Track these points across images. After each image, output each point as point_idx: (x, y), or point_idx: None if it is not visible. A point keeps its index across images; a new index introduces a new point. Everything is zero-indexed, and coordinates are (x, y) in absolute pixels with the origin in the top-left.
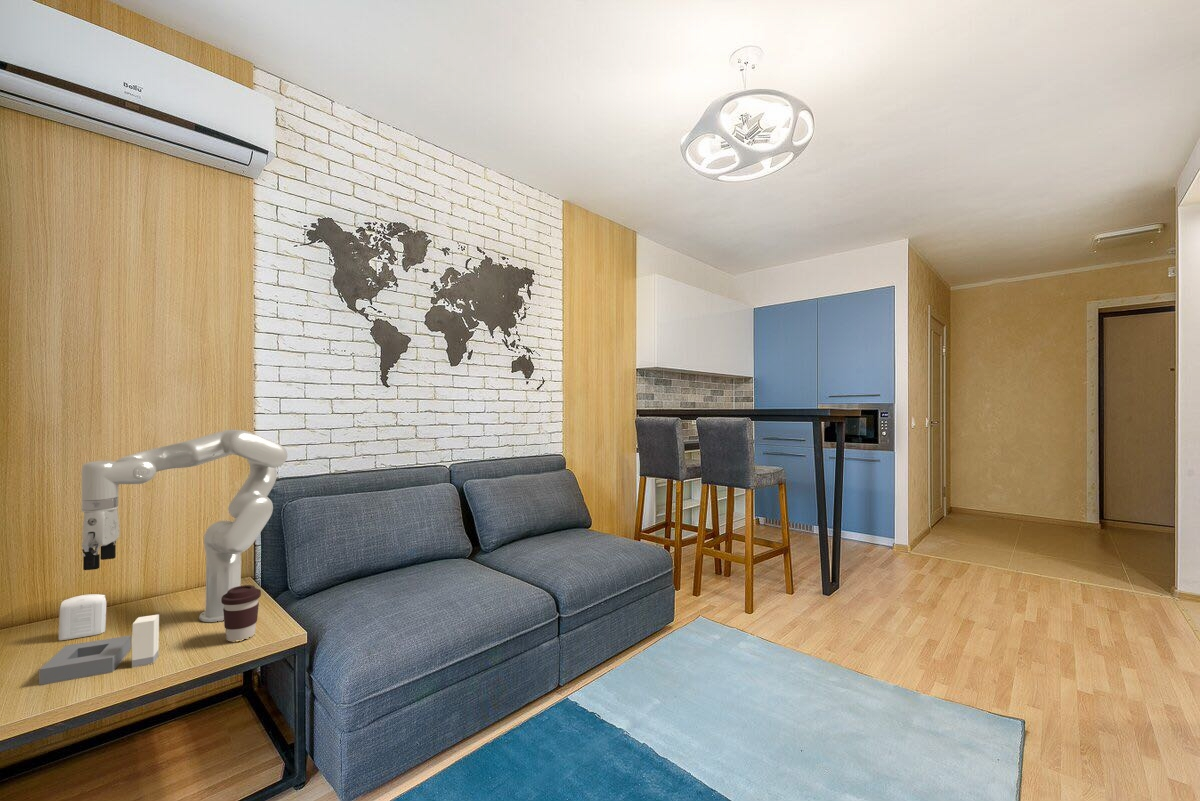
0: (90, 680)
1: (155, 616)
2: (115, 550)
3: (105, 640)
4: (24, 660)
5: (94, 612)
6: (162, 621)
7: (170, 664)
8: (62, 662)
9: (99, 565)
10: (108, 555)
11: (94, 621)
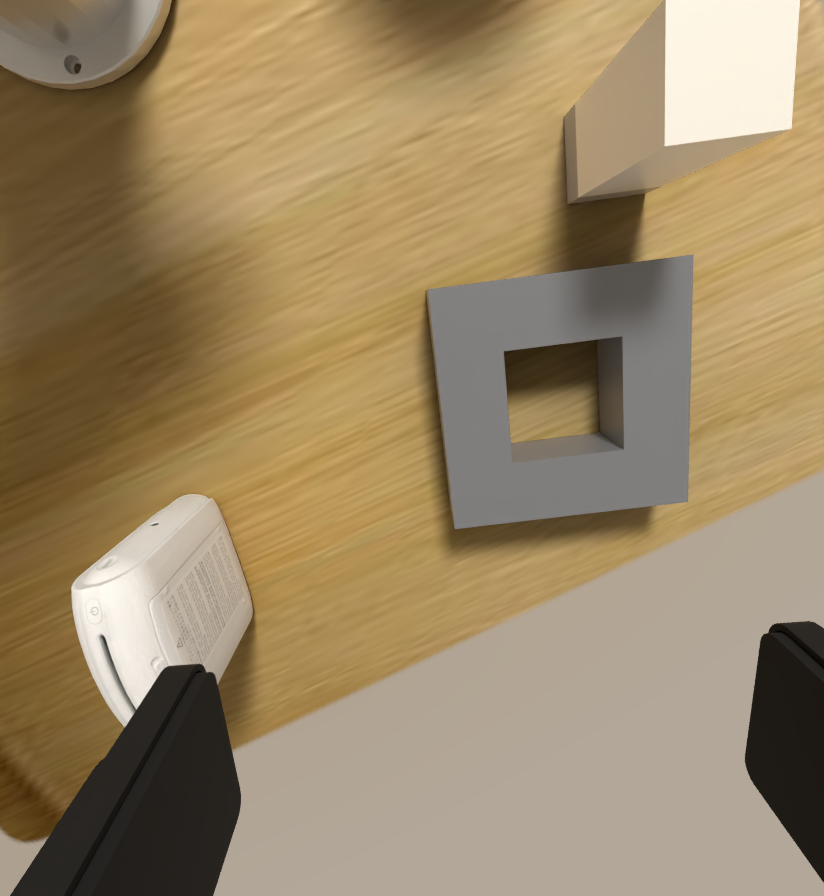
0: (700, 314)
1: (704, 8)
2: (97, 778)
3: (455, 387)
4: (404, 633)
5: (180, 567)
6: (105, 289)
7: None
8: (653, 449)
9: (806, 647)
10: (202, 778)
11: (200, 544)
